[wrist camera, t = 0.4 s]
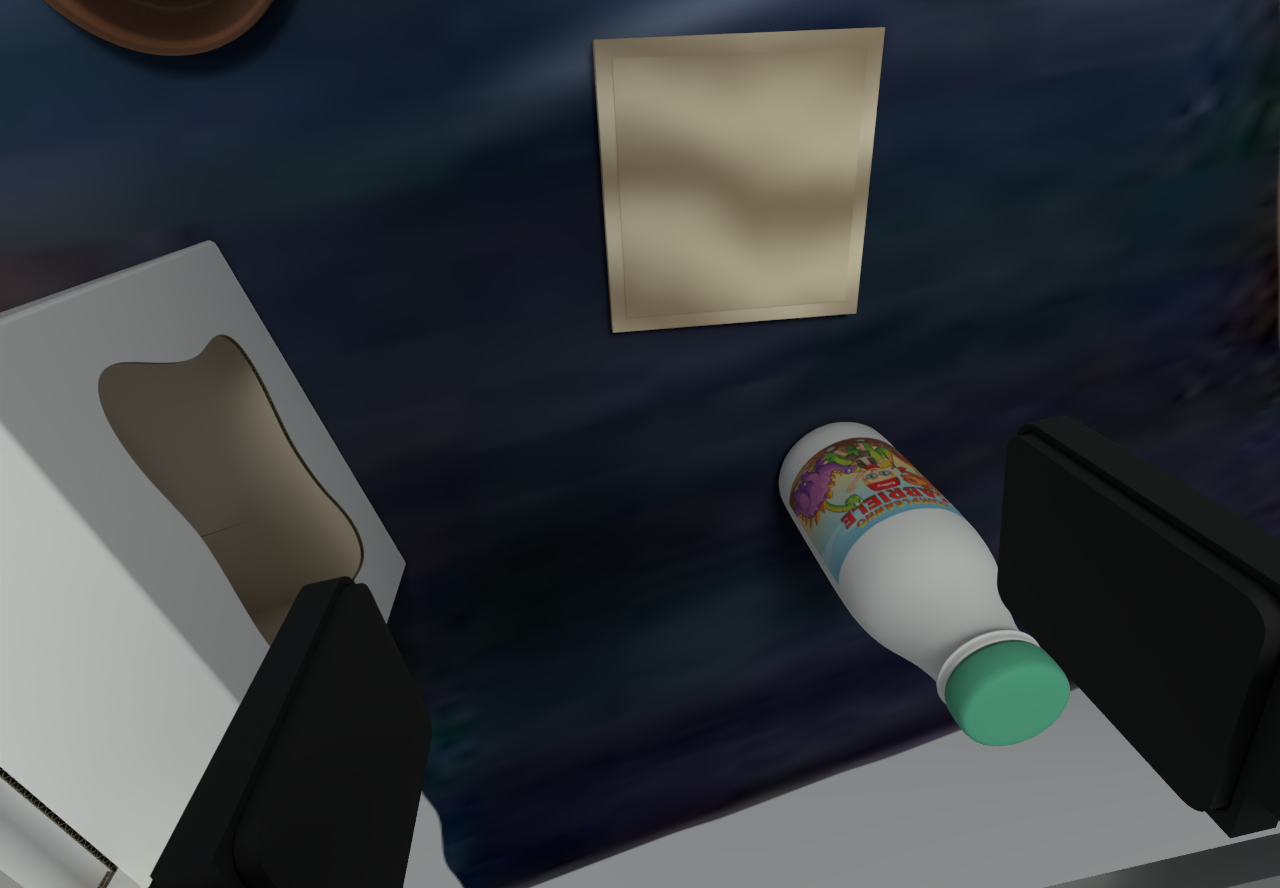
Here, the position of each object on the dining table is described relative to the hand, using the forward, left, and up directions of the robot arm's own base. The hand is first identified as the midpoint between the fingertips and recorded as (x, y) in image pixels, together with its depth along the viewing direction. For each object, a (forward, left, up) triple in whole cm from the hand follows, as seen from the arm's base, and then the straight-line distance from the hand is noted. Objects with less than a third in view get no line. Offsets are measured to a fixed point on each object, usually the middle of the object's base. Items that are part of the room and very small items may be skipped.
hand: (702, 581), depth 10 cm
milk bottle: (+16, +15, -30) cm, 37 cm away
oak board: (-2, +8, -30) cm, 31 cm away
